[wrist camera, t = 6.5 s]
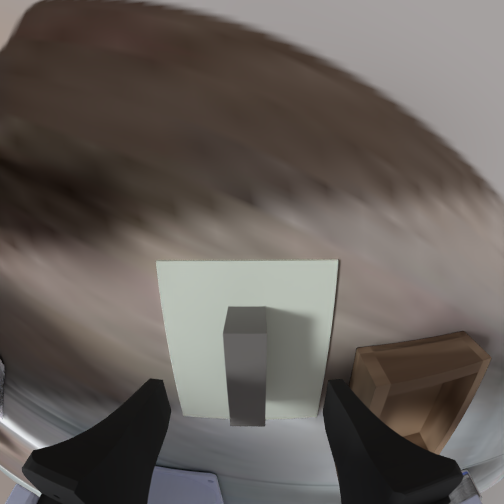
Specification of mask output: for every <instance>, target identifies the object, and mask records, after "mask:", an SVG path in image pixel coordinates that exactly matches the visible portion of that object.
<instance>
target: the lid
mask: <svg viewBox="0 0 504 504" xmlns="http://www.w3.org/2000/svg"><path fill="white" fill-rule="evenodd" d="M156 267H157V275H158V283H159V291H160V298H161V305H162V312H163V319H164V325H165V331H166V337H167V342H168V348H169V353H170V358H171V363H172V368H173V373H174V378H175V383H176V387H177V392H178V396H179V400H180V405H181V409H182V413H183V416H188V417H200V418H215V419H230V426H265V420H268V419H295V418H310V417H317V412H318V407H319V402H320V397H321V392H322V386H323V380H324V374H325V368H326V362H327V356H328V349H329V342H330V335H331V327H332V319H333V310H334V302H335V292H336V282H337V270H338V259H296V260H157V261H156Z"/></svg>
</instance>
